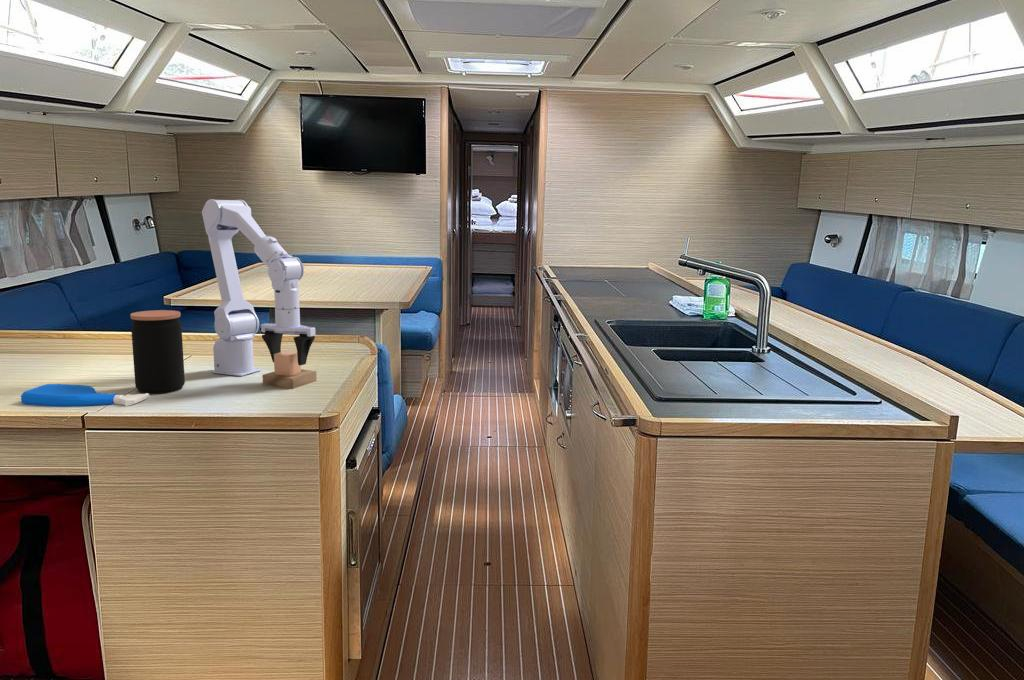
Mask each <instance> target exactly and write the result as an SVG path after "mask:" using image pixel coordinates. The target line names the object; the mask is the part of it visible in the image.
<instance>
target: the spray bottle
mask: <svg viewBox="0 0 1024 680" xmlns="http://www.w3.org/2000/svg"><path fill="white" fill-rule="evenodd" d="M149 397H150V394H148V393H146V394H145V393H137V394H130V393H126V394H118V393H107V392H105V393H101V392H97V391H96V389H95V388H94V387H93V386H90V385H85V384H84V385H83V384H69V383H68V384H67V383H66V384H64V383H47V384H43V385H41V386H37V387H33V388H31V389H28V390H25V391H23V392H22V394H21V395H20V399H21V403H22V404H23V405H28V406H29V405H30V406H43V407H44V406H46V407H87V406H106V405H123V406H125V407H129V406H132V405H134V404H137V403H140V402H142V401H144V400H147V399H148V398H149Z"/></svg>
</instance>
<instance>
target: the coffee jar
mask: <svg viewBox="0 0 1024 680" xmlns="http://www.w3.org/2000/svg"><path fill="white" fill-rule="evenodd" d="M129 317H130V319H131V320H132V323H131V324H130V329H131V330H130V331H131V344H132V345H131V346H132V358H133V359H132V361H133V374H134V385H135V388H136V390H137V391H138V392H139V393H140V394H146V393H148V394H149V395H159V394H168V393H173V392H178V391H180V390H181V389H182V390H183V387H184V385H185V383H186V381H185V380H186V379H185V378H186V377H185V362H184V347H183V345H184V344H183V329H182V322H181V320H180V317H181V311H178V310H173V309H172V310H170V309H169V310H168V309H167V310H166V309H160V310H159V309H157V310H155V309H153V310H144V311H143V310H142V311H135V312H131V313H130V315H129Z"/></svg>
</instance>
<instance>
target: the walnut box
mask: <svg viewBox="0 0 1024 680" xmlns="http://www.w3.org/2000/svg"><path fill="white" fill-rule="evenodd" d="M315 382H317V370H309V369H302V368H301V372H300V373H297V374H294V375H291V376H286V375H277V374H275V370H274V371H271V372H268V373H265V374H262V385H263V386H268V387H276V388H282V389H283V388H284V389H285V388H286V389H293V390H294V389H297V388H299V387H303V386H306V385H309V384H312V383H315Z"/></svg>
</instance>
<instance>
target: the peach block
mask: <svg viewBox="0 0 1024 680" xmlns="http://www.w3.org/2000/svg"><path fill="white" fill-rule="evenodd" d="M273 365H274V367H273V369H274V371H275V374H277V375H286V376H291V375H294V374H297V373H300V372H301V369H302V365H298V357H297V351H293V350H291V351H290V350H283V351H281V352H279V353H276V354H274V362H273Z"/></svg>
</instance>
